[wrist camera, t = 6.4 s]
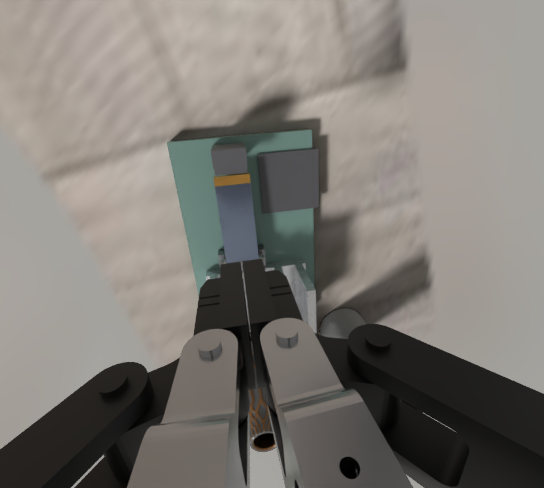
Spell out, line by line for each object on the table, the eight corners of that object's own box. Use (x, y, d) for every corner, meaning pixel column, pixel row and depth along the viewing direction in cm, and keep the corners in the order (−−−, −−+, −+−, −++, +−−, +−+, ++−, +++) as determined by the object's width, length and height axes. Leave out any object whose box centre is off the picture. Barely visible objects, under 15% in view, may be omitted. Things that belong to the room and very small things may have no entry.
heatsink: (202, 251, 23) (197, 284, 19) (301, 239, 24) (319, 267, 20) (217, 329, 26) (216, 373, 22) (304, 315, 27) (320, 355, 23)
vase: (286, 322, 29) (309, 401, 21) (289, 374, 32) (311, 460, 24) (215, 334, 28) (211, 420, 20) (225, 385, 31) (225, 479, 23)
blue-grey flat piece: (208, 176, 20) (206, 178, 19) (254, 171, 20) (256, 173, 19) (223, 271, 23) (223, 278, 22) (263, 266, 23) (265, 272, 22)
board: (169, 141, 21) (166, 142, 20) (312, 128, 22) (318, 129, 21) (206, 322, 27) (206, 332, 26) (315, 305, 28) (319, 314, 27)
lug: (212, 144, 20) (210, 150, 17) (242, 142, 20) (245, 147, 17) (216, 167, 21) (214, 178, 17) (244, 164, 21) (248, 175, 17)
